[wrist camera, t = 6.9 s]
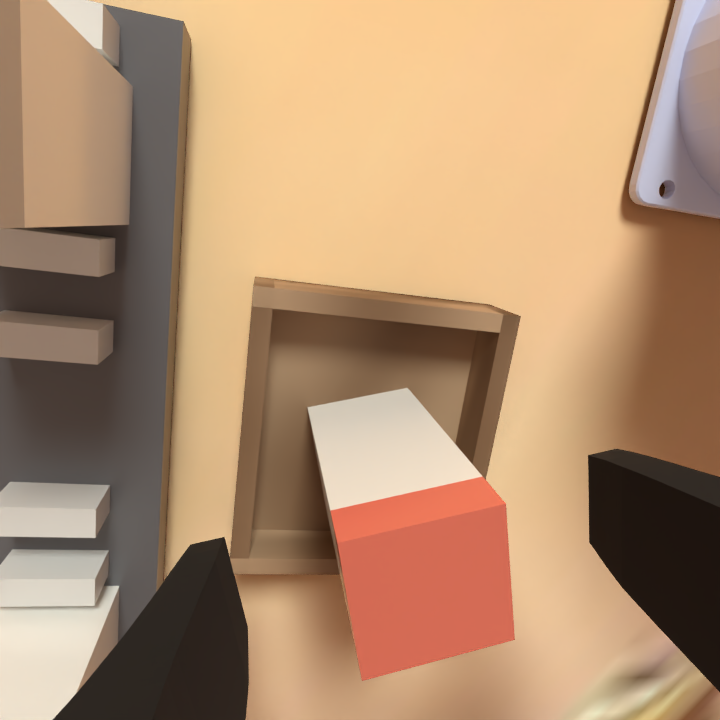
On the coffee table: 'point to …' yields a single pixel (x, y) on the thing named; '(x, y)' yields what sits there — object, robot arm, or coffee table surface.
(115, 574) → the block
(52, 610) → the fuse slot
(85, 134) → the block
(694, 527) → the robot arm
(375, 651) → the red cap fuse
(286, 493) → the tray
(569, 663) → the coffee table surface
